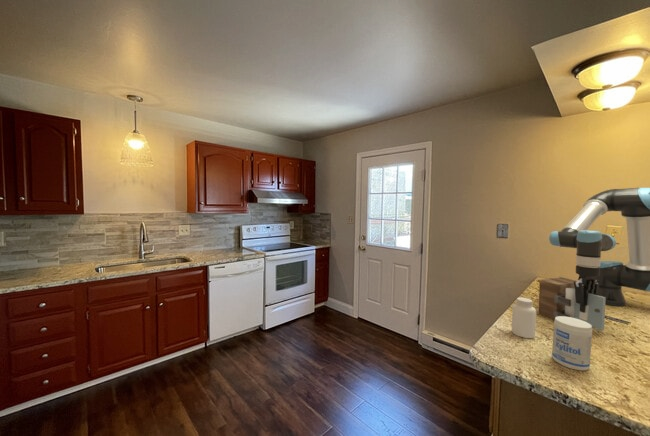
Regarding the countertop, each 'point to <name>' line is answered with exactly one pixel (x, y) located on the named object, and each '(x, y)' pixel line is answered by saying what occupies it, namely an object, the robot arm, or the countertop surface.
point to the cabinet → (554, 296)
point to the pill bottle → (524, 318)
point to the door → (594, 311)
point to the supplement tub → (572, 342)
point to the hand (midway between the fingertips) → (585, 318)
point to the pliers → (617, 320)
